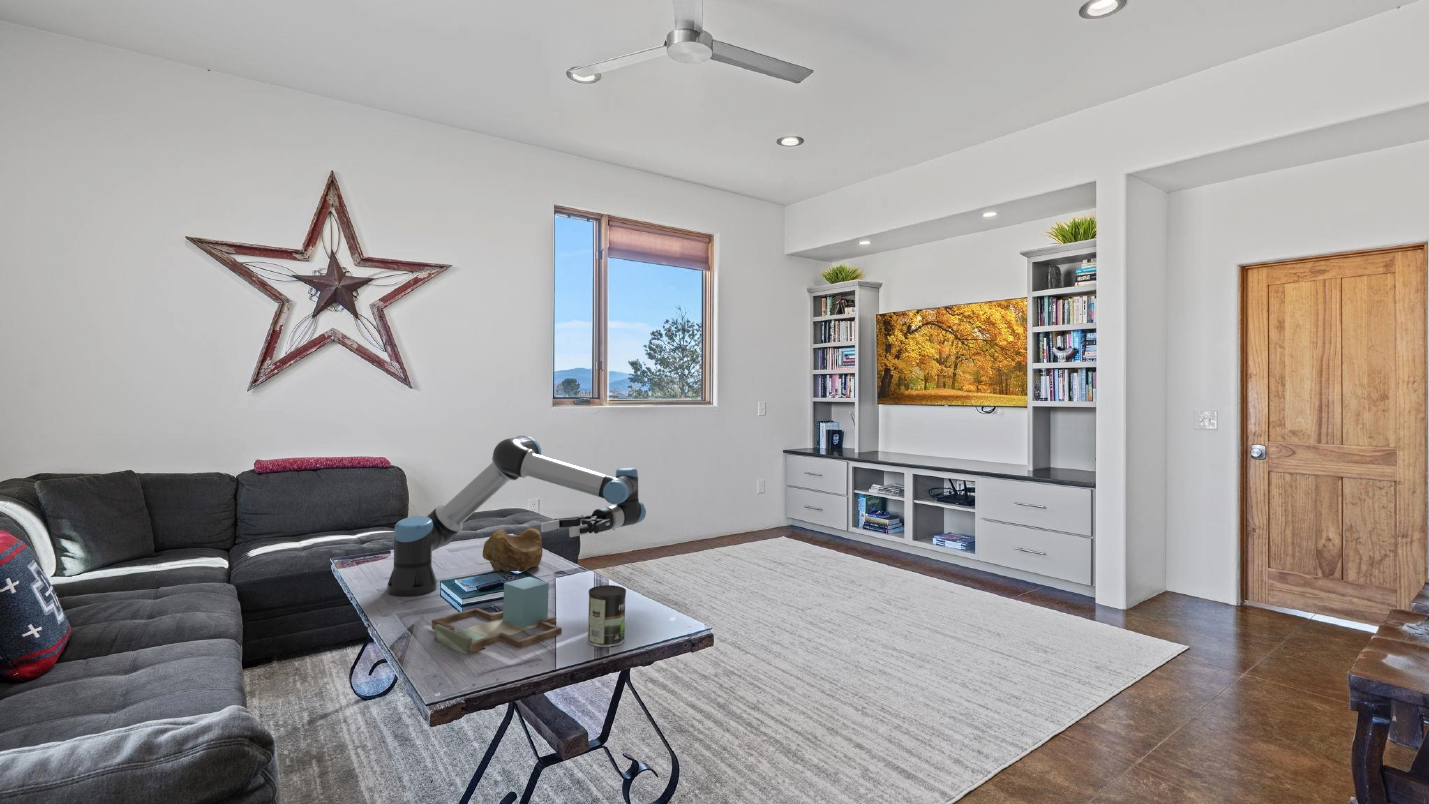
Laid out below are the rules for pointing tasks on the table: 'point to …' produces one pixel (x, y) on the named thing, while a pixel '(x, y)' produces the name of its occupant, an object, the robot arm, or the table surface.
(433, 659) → the table surface
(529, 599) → the teal block
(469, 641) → the trap lane
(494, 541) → the rough brown rock
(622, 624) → the coffee can
